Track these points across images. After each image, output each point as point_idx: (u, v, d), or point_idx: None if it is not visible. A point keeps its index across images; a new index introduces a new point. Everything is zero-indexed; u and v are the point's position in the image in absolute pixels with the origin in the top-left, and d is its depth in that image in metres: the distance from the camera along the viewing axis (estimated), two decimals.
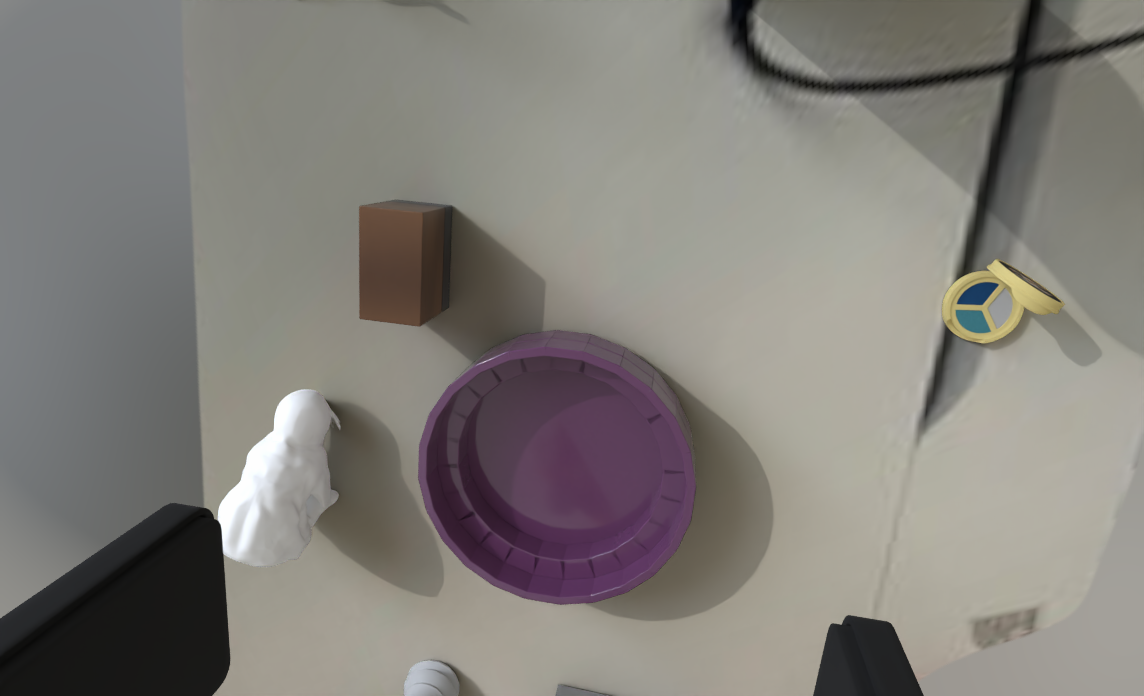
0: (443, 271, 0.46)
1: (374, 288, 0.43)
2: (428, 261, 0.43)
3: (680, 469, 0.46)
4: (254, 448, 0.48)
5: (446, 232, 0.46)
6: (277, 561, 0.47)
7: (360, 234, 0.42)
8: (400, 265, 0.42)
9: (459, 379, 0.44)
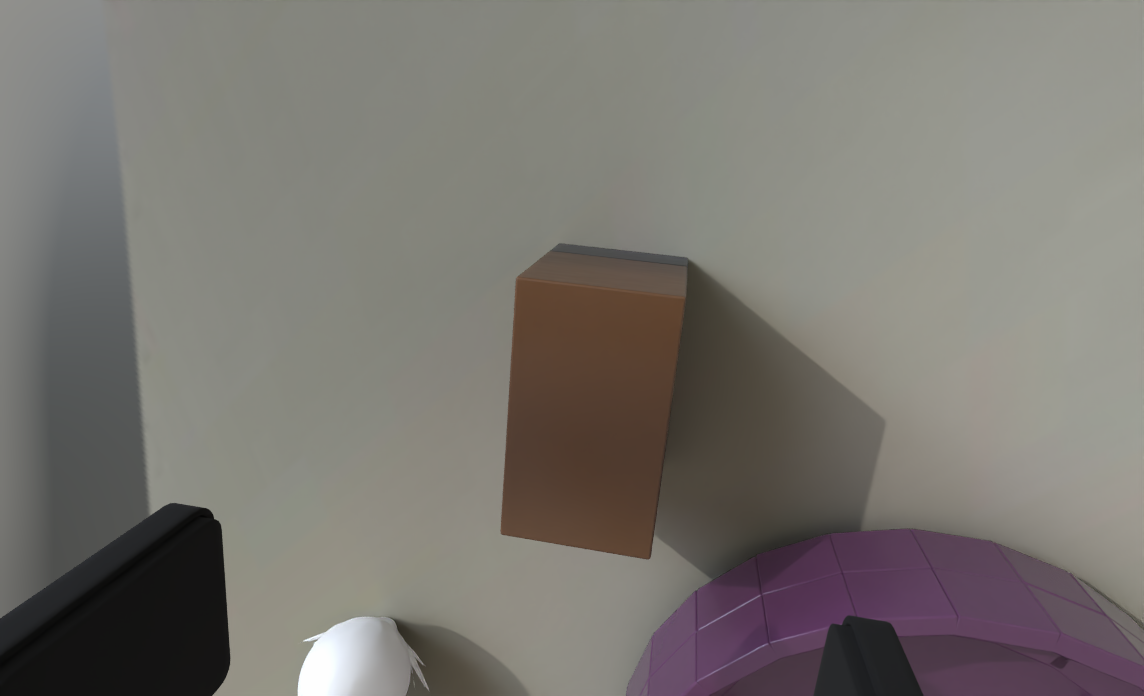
0: None
1: (542, 470, 0.18)
2: None
3: None
4: None
5: None
6: None
7: (515, 345, 0.17)
8: (613, 421, 0.17)
9: (727, 668, 0.19)
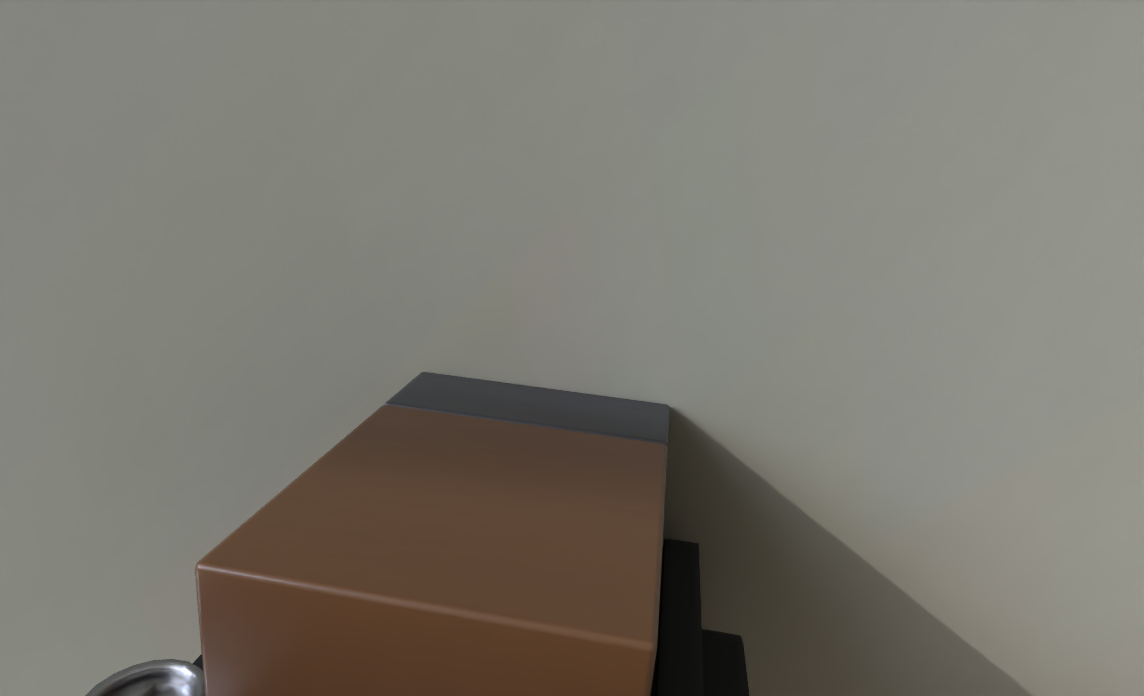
0: None
1: None
2: None
3: None
4: None
5: None
6: None
7: None
8: None
9: None
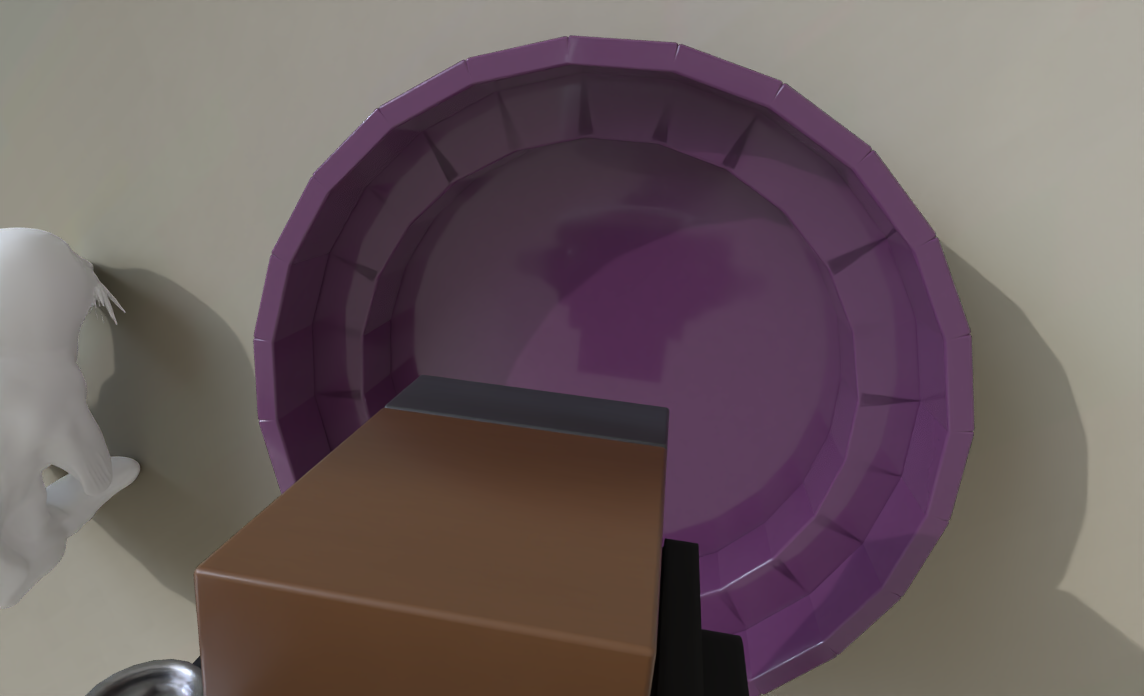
0: None
1: None
2: None
3: (904, 393, 0.18)
4: None
5: None
6: None
7: None
8: None
9: (340, 150, 0.17)
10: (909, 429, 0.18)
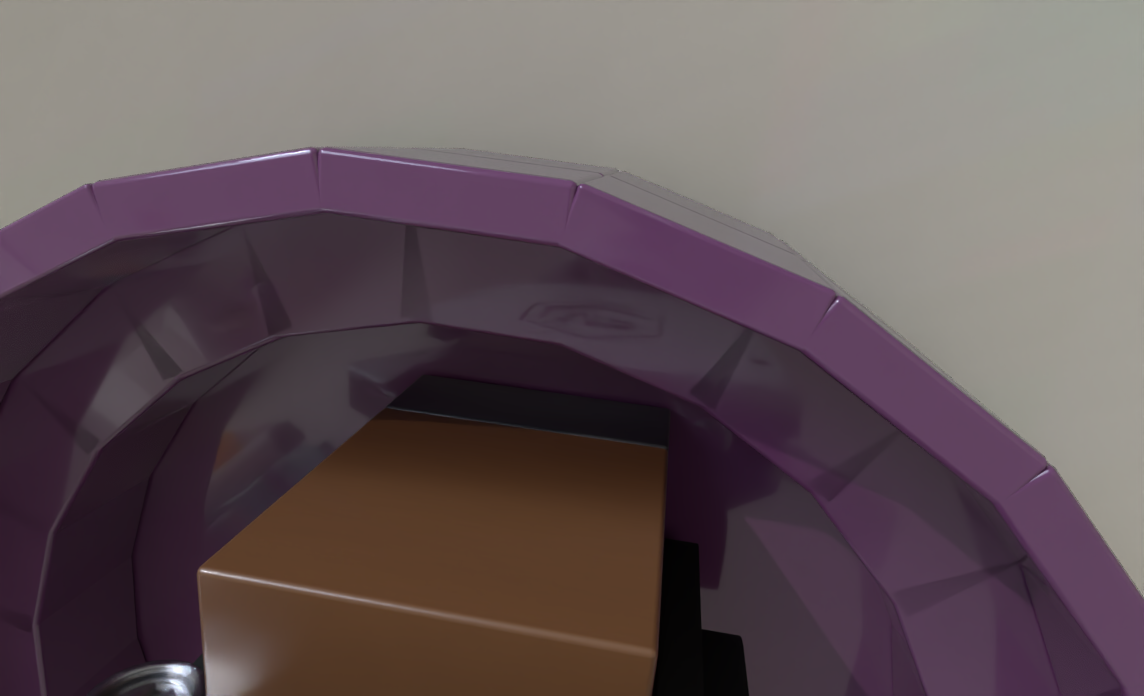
0: None
1: None
2: None
3: None
4: None
5: None
6: None
7: None
8: None
9: None
10: None
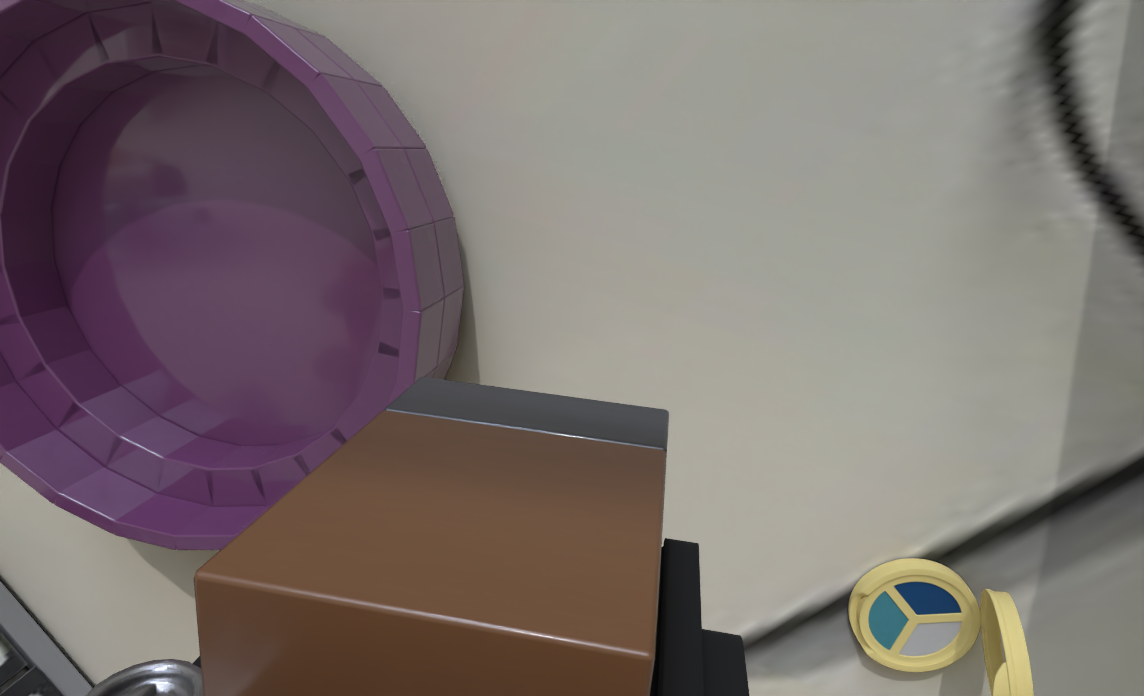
0: None
1: None
2: None
3: None
4: None
5: None
6: None
7: None
8: None
9: None
10: None
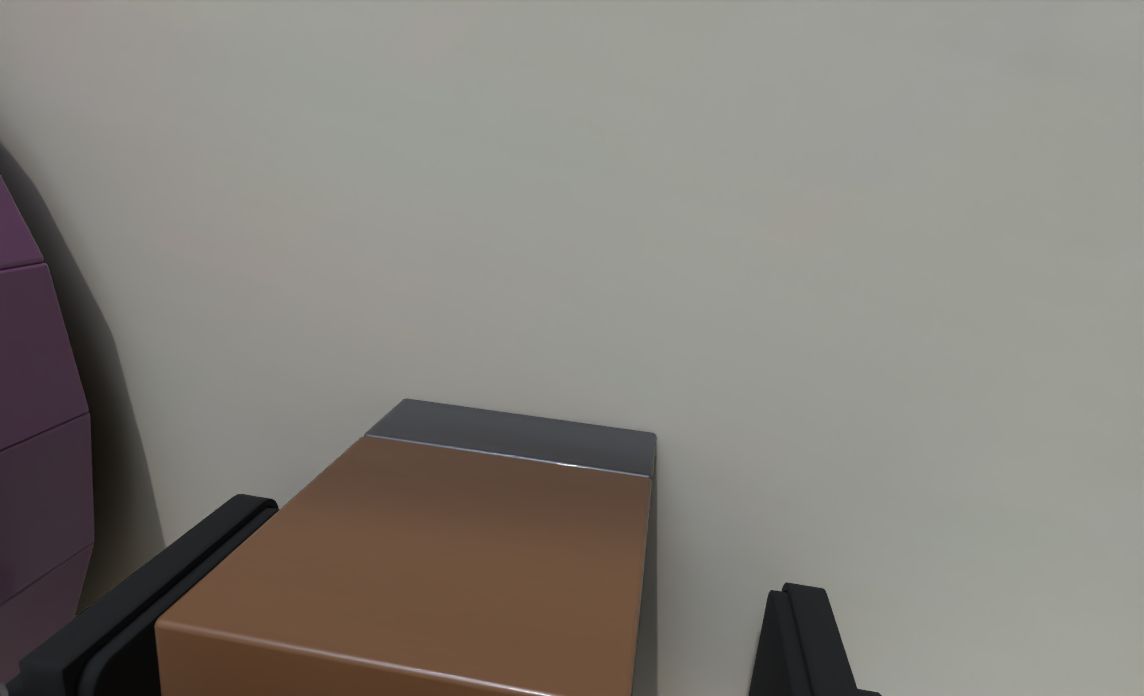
0: None
1: None
2: None
3: None
4: None
5: None
6: None
7: None
8: None
9: None
10: None
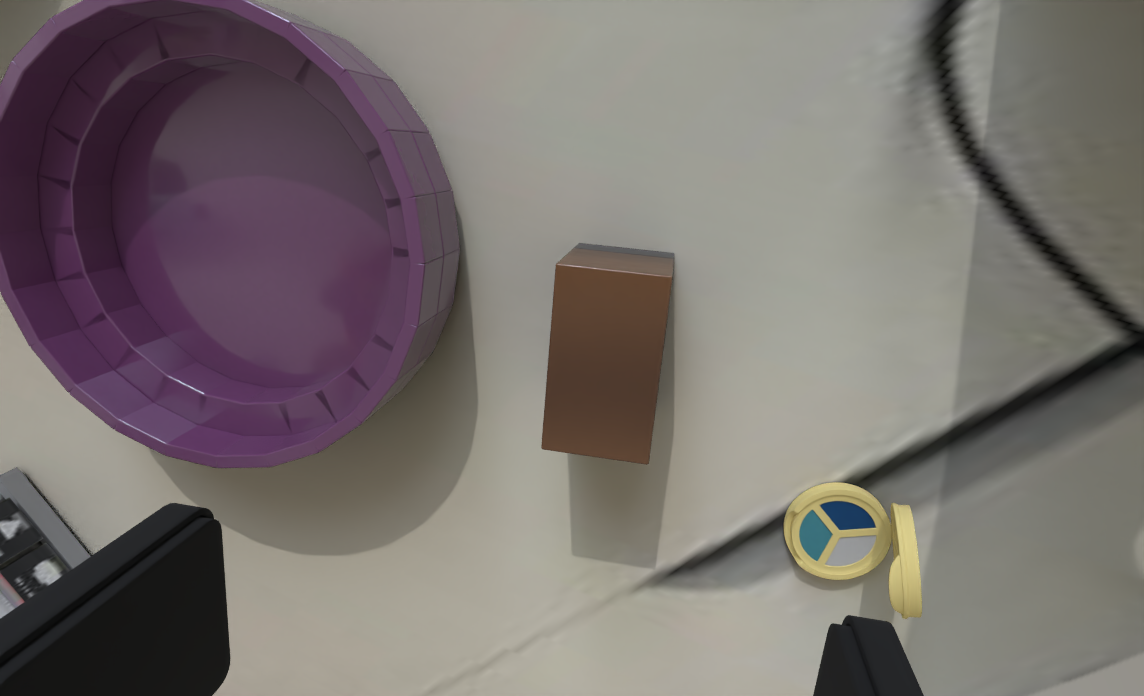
0: None
1: (572, 400, 0.25)
2: None
3: (370, 385, 0.29)
4: None
5: None
6: None
7: (554, 311, 0.24)
8: (622, 364, 0.24)
9: None
10: (357, 403, 0.29)
